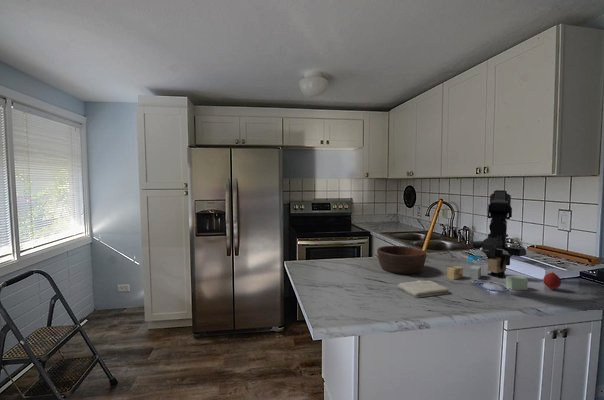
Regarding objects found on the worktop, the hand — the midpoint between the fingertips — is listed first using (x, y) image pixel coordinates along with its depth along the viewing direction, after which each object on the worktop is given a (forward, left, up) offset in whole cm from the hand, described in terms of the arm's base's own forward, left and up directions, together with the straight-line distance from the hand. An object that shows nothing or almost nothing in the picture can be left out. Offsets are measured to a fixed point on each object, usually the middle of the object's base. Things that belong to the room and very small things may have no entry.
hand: (496, 268), depth 122 cm
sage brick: (-12, +2, -10) cm, 16 cm away
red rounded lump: (-24, +10, -10) cm, 28 cm away
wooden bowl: (+10, -43, -10) cm, 45 cm away
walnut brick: (0, 0, -1) cm, 1 cm away
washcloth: (+27, -15, -11) cm, 33 cm away
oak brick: (-2, -20, -10) cm, 23 cm away
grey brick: (-12, -16, -10) cm, 22 cm away
